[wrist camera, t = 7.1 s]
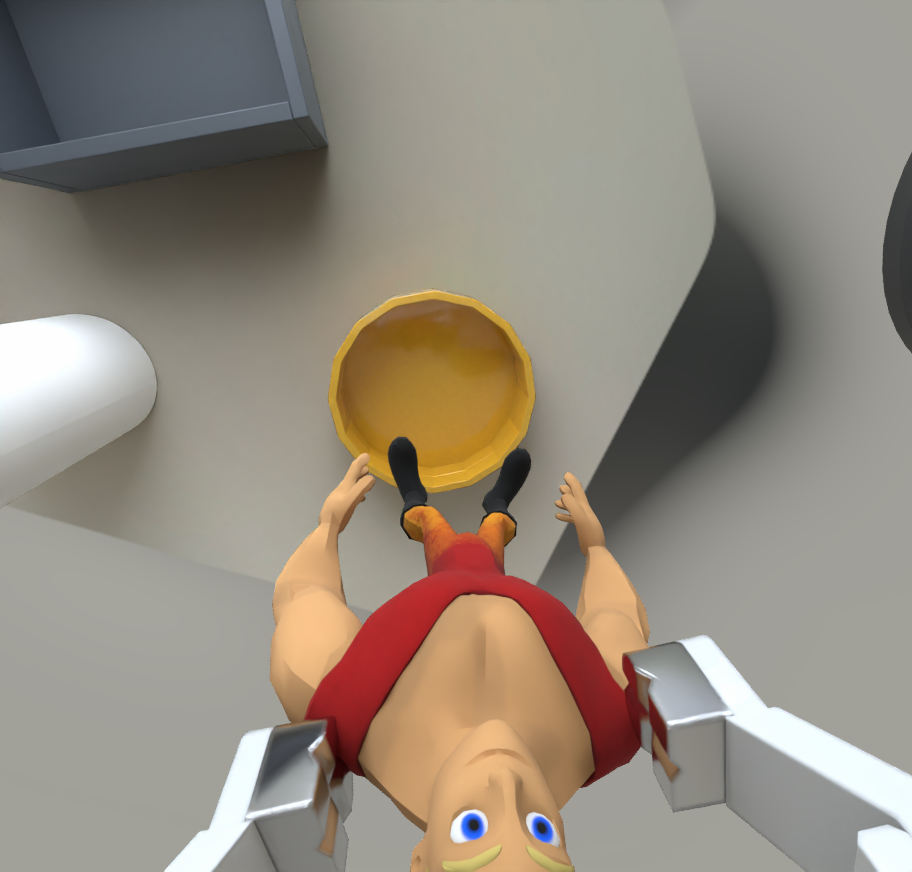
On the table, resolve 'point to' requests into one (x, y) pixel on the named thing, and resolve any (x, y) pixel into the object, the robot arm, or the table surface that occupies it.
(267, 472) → the table surface
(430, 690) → the action figure
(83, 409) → the cup
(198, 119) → the container
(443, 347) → the bowl
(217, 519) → the table surface
